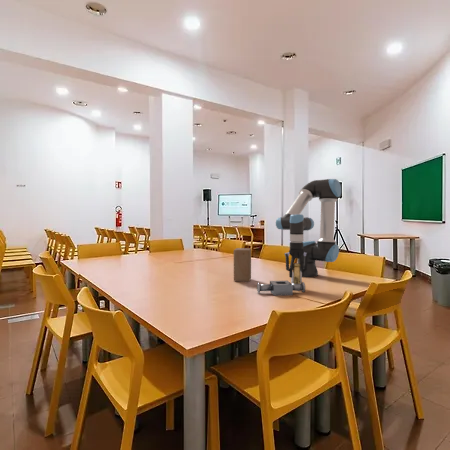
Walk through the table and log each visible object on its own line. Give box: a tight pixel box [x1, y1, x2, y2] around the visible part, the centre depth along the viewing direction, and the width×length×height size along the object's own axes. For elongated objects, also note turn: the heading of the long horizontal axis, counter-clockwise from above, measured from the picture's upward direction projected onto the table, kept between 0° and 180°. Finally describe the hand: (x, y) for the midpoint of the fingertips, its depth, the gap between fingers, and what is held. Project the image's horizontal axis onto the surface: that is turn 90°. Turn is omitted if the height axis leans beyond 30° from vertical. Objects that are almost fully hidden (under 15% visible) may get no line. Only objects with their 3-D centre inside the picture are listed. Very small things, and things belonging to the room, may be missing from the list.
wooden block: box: [233, 247, 252, 283], centre depth 197 cm, size 10×10×20 cm
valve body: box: [256, 280, 306, 297], centre depth 165 cm, size 25×10×6 cm, turn 93°
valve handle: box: [293, 262, 301, 284], centre depth 175 cm, size 5×5×14 cm
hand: (296, 282), depth 175 cm, fingers closed on valve handle, 4 cm apart
